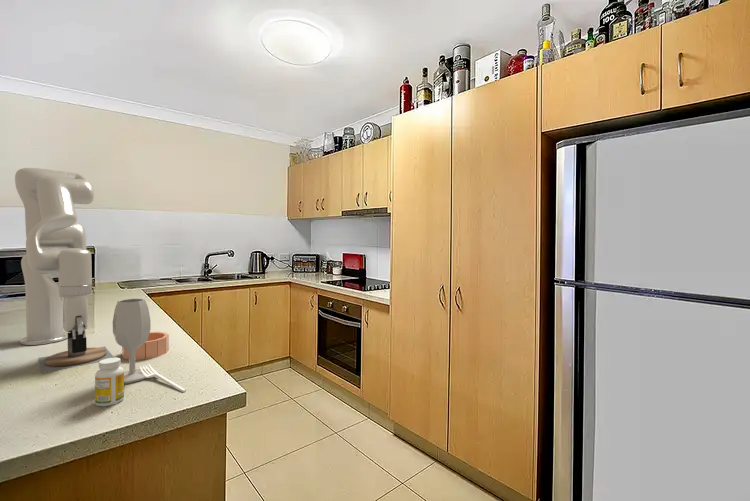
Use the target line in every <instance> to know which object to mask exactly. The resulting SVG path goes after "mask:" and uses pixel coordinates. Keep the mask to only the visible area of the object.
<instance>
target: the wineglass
mask: <svg viewBox="0 0 750 501" xmlns="http://www.w3.org/2000/svg"><path fill="white" fill-rule="evenodd" d="M112 318H113V319H112V333H113V337H114V339H115V342H116V344H117V345H119V346H120V347H121V348H122V347H123V348H125V349H127V350H128V351H129V359H128V366H129V367H128V368H129V369H128V370H127V371H124V385H125V384H127V385H128V384H133V383H137V382H139V381H140V382H141V381H143V380H145V379H146V378H145V376H144V375H143V374H142V372H141V370H140V368H139V369H137V368H136V360H135V350H136V349H137V348H139V347H140V346H141V345H142V344H143V343H144V342H146V341H147V340H148V336H149V333H150V332H151V314H150V311H149V306H148V304H147V300H146V299H145V298H142V297H141V298H140V297H139V298H137V297H133V298H123V299H120V300H119V299H118V300H117V302H116V304H115V308H114V312H113V317H112ZM142 369H143V368H142ZM145 369H146V370H147V368H145ZM143 371H144V369H143ZM147 371H148V370H147ZM144 372H145V371H144ZM145 373H146V372H145ZM146 374H147V373H146ZM150 374H151V373H150ZM147 375H148V374H147Z"/></svg>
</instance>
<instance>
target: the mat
mask: <svg viewBox="0 0 750 501" xmlns="http://www.w3.org/2000/svg"><path fill="white" fill-rule="evenodd" d="M98 348H103V349H105V350H106V355H105V356H104V357H103V358H101V359H98V360H96V361H93V362H89V363H85V364H81V365H75V366H67V367H49V366H46V365H45V359H46V358H47V357H49V356H50V355H47V356H42V357H38V363H39V367H40V372H41V374H46V373H50V372H55V371H61V370H66V369H67V370H68V369H71V368H76V367H82V366H86V365H92V364H96V363H98V364H99V362H100V361H101V360H104V359H107V358H115V357H114V355H112V353H111V352H110V351H109V349H108V348H107V347H106V346H100V347H98Z"/></svg>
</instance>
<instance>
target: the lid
mask: <svg viewBox="0 0 750 501" xmlns="http://www.w3.org/2000/svg"><path fill="white" fill-rule="evenodd" d="M72 339H73V338H70V339H68V338H67V350H64V351H61V352H57V353H54V354H51V355H48V356H49V357H47V356H46V357H47V358H46V359H45V365H46V366H49V367H67V366H75V365H81V364H85V363H89V362H93V361H96V360H98V359H101V358H103V357H104V356H105V355H106V350H105V349H103V348H99V347H87V350H86V351H84V352H78V353H72Z"/></svg>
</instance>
